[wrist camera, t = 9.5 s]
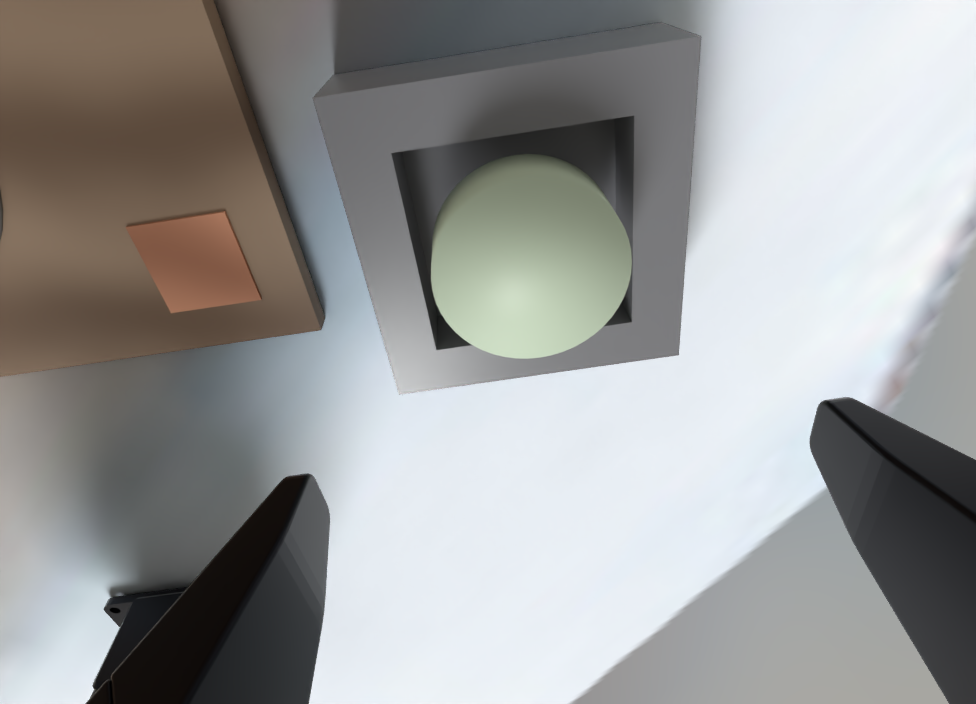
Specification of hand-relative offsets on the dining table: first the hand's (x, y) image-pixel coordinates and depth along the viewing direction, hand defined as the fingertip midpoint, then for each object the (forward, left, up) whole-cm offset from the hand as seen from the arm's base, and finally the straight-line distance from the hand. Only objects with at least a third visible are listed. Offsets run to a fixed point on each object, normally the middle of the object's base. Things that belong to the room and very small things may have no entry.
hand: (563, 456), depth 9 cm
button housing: (0, 0, -11) cm, 11 cm away
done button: (0, 0, -8) cm, 8 cm away
